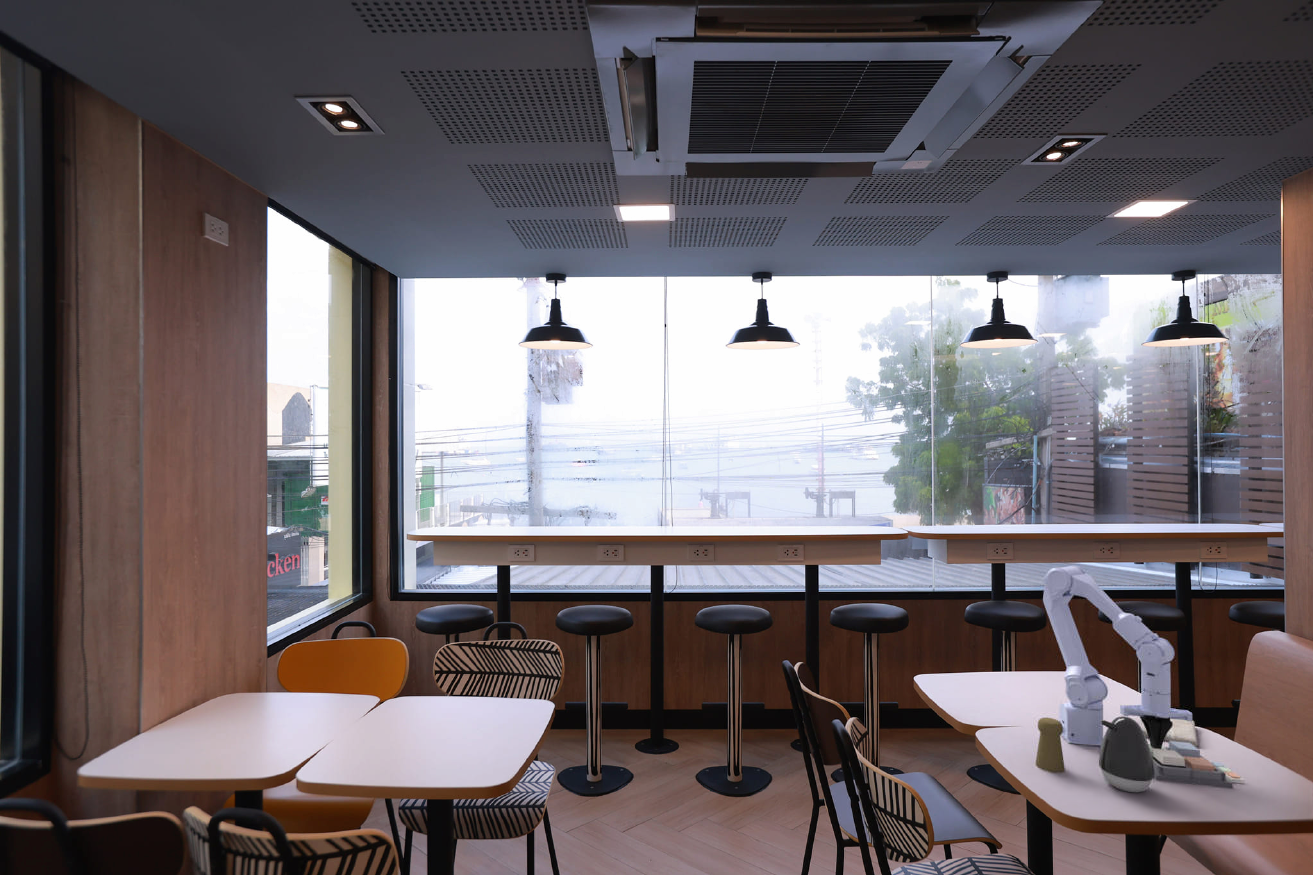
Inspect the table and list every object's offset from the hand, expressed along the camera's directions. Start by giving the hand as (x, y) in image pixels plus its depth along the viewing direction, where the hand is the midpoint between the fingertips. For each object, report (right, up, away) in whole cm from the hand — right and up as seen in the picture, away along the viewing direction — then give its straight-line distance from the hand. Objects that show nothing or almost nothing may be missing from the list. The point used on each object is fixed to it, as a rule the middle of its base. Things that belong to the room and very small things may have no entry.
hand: (1155, 748), depth 167 cm
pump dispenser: (-16, -3, -13) cm, 21 cm away
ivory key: (-1, 0, -6) cm, 6 cm away
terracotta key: (+5, -2, -7) cm, 9 cm away
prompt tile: (+12, -4, -6) cm, 14 cm away
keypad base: (+2, -3, -4) cm, 5 cm away
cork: (-27, -3, -4) cm, 28 cm away
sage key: (0, -2, 0) cm, 2 cm away
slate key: (+6, -1, -1) cm, 6 cm away
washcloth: (+18, -5, +20) cm, 27 cm away
